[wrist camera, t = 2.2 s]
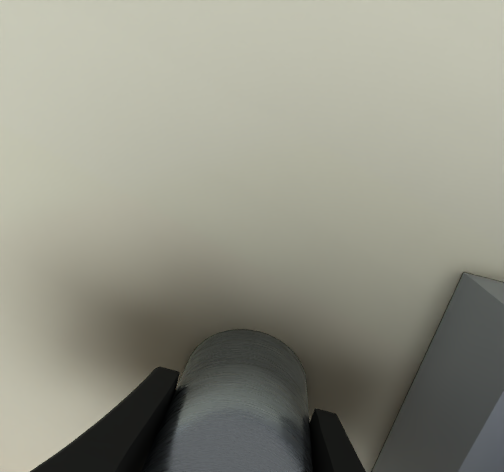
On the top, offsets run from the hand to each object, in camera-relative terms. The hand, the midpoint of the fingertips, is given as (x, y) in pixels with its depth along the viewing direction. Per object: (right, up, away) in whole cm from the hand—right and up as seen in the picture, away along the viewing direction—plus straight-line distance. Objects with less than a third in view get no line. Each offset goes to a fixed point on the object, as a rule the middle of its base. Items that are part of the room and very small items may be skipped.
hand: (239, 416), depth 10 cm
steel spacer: (0, 0, +1) cm, 1 cm away
